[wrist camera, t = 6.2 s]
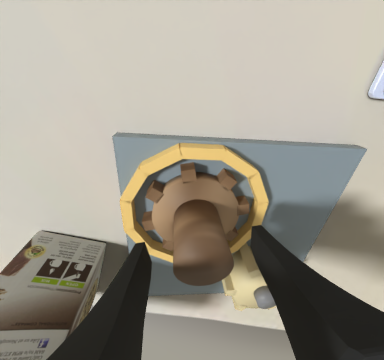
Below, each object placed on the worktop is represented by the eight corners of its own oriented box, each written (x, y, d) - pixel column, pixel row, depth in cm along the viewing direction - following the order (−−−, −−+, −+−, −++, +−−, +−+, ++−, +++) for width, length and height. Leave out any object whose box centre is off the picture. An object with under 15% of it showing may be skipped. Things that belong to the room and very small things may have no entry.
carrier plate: (355, 145, 15) (431, 172, 10) (282, 282, 24) (306, 327, 20) (116, 132, 13) (86, 159, 8) (136, 287, 22) (126, 339, 18)
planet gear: (244, 153, 13) (283, 196, 8) (244, 235, 17) (270, 295, 13) (129, 172, 13) (102, 226, 8) (157, 249, 18) (150, 315, 13)
